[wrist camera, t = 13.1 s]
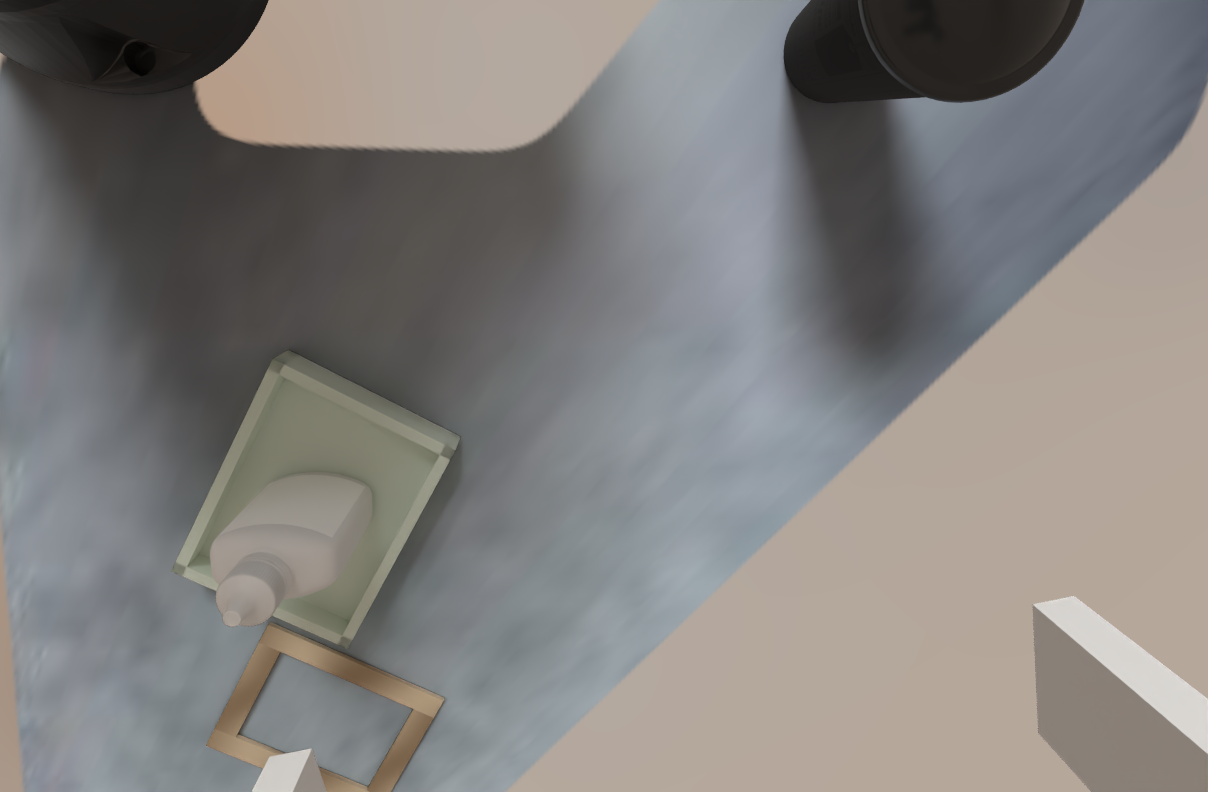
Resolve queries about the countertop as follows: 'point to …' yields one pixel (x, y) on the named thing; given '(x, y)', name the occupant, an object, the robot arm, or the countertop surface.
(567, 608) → the countertop surface
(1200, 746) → the robot arm
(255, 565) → the eye dropper bottle
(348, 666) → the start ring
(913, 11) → the drinking cup
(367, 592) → the tray
